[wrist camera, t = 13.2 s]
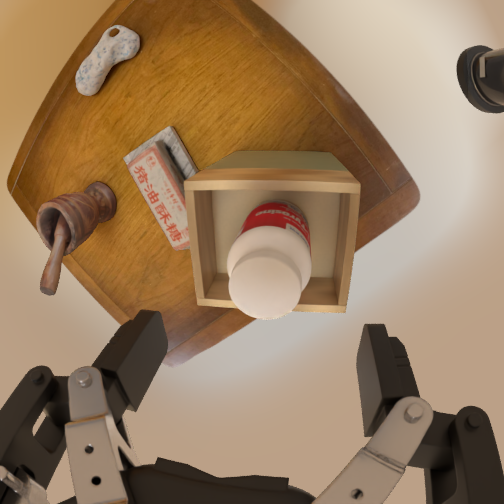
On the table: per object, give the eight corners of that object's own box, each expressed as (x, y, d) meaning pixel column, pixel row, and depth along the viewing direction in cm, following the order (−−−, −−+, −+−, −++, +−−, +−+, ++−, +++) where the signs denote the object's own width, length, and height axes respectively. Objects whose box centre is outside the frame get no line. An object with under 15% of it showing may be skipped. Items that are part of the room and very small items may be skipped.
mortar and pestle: (138, 222, 50) (68, 279, 32) (110, 246, 53) (43, 304, 35) (101, 170, 46) (17, 205, 29) (76, 198, 49) (-1, 240, 32)
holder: (349, 171, 26) (361, 183, 21) (339, 281, 31) (345, 313, 26) (203, 168, 28) (183, 181, 23) (212, 276, 33) (197, 305, 28)
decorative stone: (102, 105, 42) (84, 106, 37) (80, 86, 40) (62, 86, 36) (149, 41, 36) (134, 35, 32) (124, 23, 35) (108, 17, 30)
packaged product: (222, 236, 43) (168, 261, 46) (229, 225, 48) (178, 248, 51) (160, 125, 37) (110, 161, 41) (173, 124, 42) (126, 156, 45)
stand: (330, 152, 41) (349, 171, 26) (327, 228, 46) (339, 281, 31) (235, 150, 43) (203, 168, 28) (238, 225, 47) (212, 276, 33)
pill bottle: (320, 215, 28) (331, 272, 18) (292, 267, 31) (287, 340, 21) (259, 187, 28) (236, 229, 18) (235, 242, 30) (204, 306, 20)
